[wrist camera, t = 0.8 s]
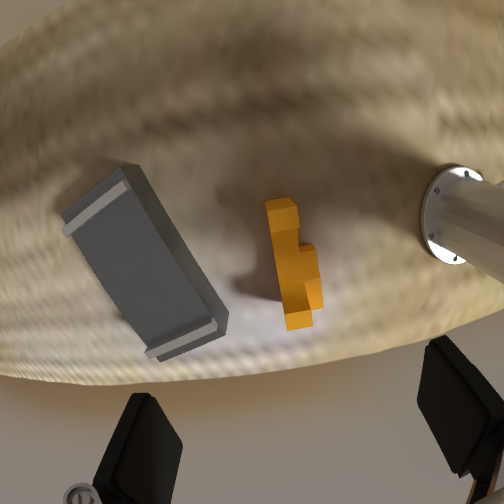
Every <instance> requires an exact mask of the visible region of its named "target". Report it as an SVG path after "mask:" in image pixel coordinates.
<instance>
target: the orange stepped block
mask: <svg viewBox="0 0 504 504" xmlns="http://www.w3.org/2000/svg"><path fill="white" fill-rule="evenodd" d="M265 206H266V211H267V217H268V223H269V228H270V234H271V239H272V245H273V251H274V257H275V262H276V268H277V274H278V280H279V286H280V292H281V298H282V304H283V309H284V315H285V320H286V326H287V331H289V330H295V329H300V328H306V327H311V326H313V322H312V313H311V310H315V309H320V308H324V307H323V297H322V287H321V278H320V273H319V268H318V261H317V254H316V249H315V248H314V246H313V245H312V244H308V245H302V246H299V245H298V228H300V222H299V216H298V209H297V205H296V204H295V203H294V202H293V201H292V200H291V199H290V198H289V197H286V198H280V199H275V200H269V201H265Z"/></svg>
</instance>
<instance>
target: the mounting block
mask: <svg viewBox="0 0 504 504" xmlns="http://www.w3.org/2000/svg"><path fill="white" fill-rule="evenodd" d="M61 216H62V218H63V220H64V222H65V224H66V226H65V227H64V228H63V229H61V230H62V232H63V234H64V235H65V237H68V236H70V235H72V236H73V238H74V240H75V241H76V243H77V245H78V247H79V248H80V250H81V252H82V253H83V255H84V257H85V258H86V260H87V261H88V263H89V265H90V266H91V268H92V269H93V271H94V273H95V274H96V276H97V277H98V279H99V280H100V282H101V283H102V285H103V286H104V288H105V289H106V291H107V292H108V294H109V295H110V297H111V298H112V300H113V301H114V303H115V304H116V305H117V307H118V308H119V310H120V311H121V312H122V314H123V315H124V317H125V318H126V319H127V321H128V322H129V323H130V325H131V326H132V327H133V329H134V330H135V331H136V333H137V334H138V335H139V337H140V338H141V339H142V340H143V342H144V343H145V344H146V346H147V348H146V350H145V352H144V353H145V354H146V355H147V357H148V358H149V359H151V358H154V357H156V358H157V359H158V360H159V362H163V361H165V360H168V359H170V358H173V357H175V356H178V355H180V354H182V353H185V352H187V351H190V350H192V349H194V348H197V347H199V346H201V345H204V344H206V343H208V342H211V341H213V340H215V339H218V338H220V337H222V336H224V335H226V329H227V322H228V316H229V311H228V310H227V308H226V307H225V305H224V304H223V302H222V301H221V299H220V298H219V296H218V295H217V293H216V292H215V290H214V289H213V287H212V285H211V284H210V282H209V281H208V279H207V278H206V276H205V275H204V273H203V271H202V270H201V268H200V267H199V265H198V264H197V262H196V260H195V259H194V257H193V256H192V254H191V252H190V251H189V249H188V248H187V246H186V244H185V243H184V241H183V239H182V238H181V236H180V234H179V233H178V231H177V230H176V228H175V226H174V225H173V223H172V221H171V220H170V218H169V216H168V215H167V213H166V211H165V209H164V208H163V206H162V204H161V203H160V201H159V199H158V198H157V196H156V194H155V192H154V191H153V189H152V187H151V185H150V184H149V182H148V180H147V178H146V177H145V175H144V173H143V171H142V170H141V168H140V166H139V165H134V166H122V167H119V168H118V169H116V170H115V171H114V172H112V173H111V174H110V175H108V176H107V177H106V178H105V179H103V180H102V181H101V182H100V183H98V184H97V185H96V186H95V187H93V188H92V189H91V190H90V191H88V192H87V193H86V194H85V195H84V196H82V197H81V198H80V199H79V200H78V201H77V202H75V203H74V204H73V205H72V206H71V207H70V208H69V209H67V210H66V211H65V212H64V213H63V214H62V215H61Z"/></svg>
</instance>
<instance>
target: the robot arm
mask: <svg viewBox="0 0 504 504" xmlns="http://www.w3.org/2000/svg"><path fill="white" fill-rule="evenodd" d="M421 231H422V235H423V239H424V241H425V243H426V246H427V248H428V249H429V250H430V252H431V253H432V254H433V255H434V256H435V257H436V258H438V259H439V260H441V261H443V262H445V263H448V264H460V263H463V262H465V261H467V262H468V263H470V264H472V265H473V266H475V267H477V268H478V269H480V270H482V271H483V272H485V273H486V274H488V275H490V276H491V277H493V278H494V279H496V280H497V281H499V282H501V283H502V284H504V181H501V182H500V183H498V184H497V185H493V184H488V183H485V181H484V180H483V178H482V177H481V176H480V175H479V174H478V173H477V172H475V171H474V170H472V169H470V168H467V167H458V166H454V167H450V168H447V169H445V170H444V171H442V172H441V173H439V174H438V175H437V176H436V177H435V178H434V180H433V181H432V182H431V184H430V185H429V187H428V189H427V191H426V194H425V197H424V200H423V203H422V209H421ZM417 403H418V407H419V409H420V410H421V412H422V414H423V416H424V418H425V420H426V421H427V423H428V425H429V427H430V429H431V431H432V433H433V435H434V437H435V439H436V440H437V443H438V444H439V446H440V448H441V450H442V452H443V454H444V456H445V458H446V460H447V462H448V464H449V467H450V469H451V471H452V472H453V473H455V474H456V473H457V474H458V476H459V478H461V477H463V476H465V475H467V474H469V473H471V475H472V477H473V479H474V481H473V484H472V487H471V490H470V493H469V496H468V498H467V501H466V504H504V401H503V399H502V398H501V397H500V396H499V394H498V393H497V392H496V391H495V389H494V388H493V387H492V386H491V384H490V383H489V382H488V381H487V380H486V378H485V377H484V376H483V375H482V374H481V372H480V371H479V370H478V369H477V368H476V366H474V365H473V364H472V363H471V362H470V361H469V360H468V359H467V358H466V357H465V355H464V354H463V353H462V352H461V351H460V350H459V349H458V347H457V346H456V345H455V344H454V343H453V342H452V341H451V340H450V339H449V337H447V336H446V335H443V336H440V337H438V338H435V339H432V340H431V341H430V342H429V345H427V346H426V348H425V354H424V362H423V368H422V375H421V380H420V385H419V391H418V396H417ZM182 449H183V445H182V441H181V439H180V438H179V436H178V435H177V433H176V432H175V430H174V428H173V427H172V425H171V424H170V422H169V420H168V419H167V417H166V415H165V414H164V412H163V410H162V409H161V407H160V406H159V403H158V402H157V400H156V399H155V397H152V396H151V395H150V394H149V393H133V394H132V395H131V397H130V399H129V401H128V403H127V405H126V407H125V409H124V411H123V414H122V416H121V418H120V420H119V422H118V424H117V427H116V429H115V431H114V433H113V435H112V438H111V440H110V442H109V444H108V447H107V449H106V451H105V453H104V456H103V458H102V461H101V463H100V465H99V467H98V470H97V472H96V475H95V477H94V479H93V484H92V485H90V484H87V483H77V484H74V485H73V486H71V487H70V488H69V489H68V490H67V491H66V492H65V494H64V499H63V503H64V504H171V499H172V494H173V490H174V485H175V480H176V476H177V471H178V467H179V463H180V458H181V454H182Z"/></svg>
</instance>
